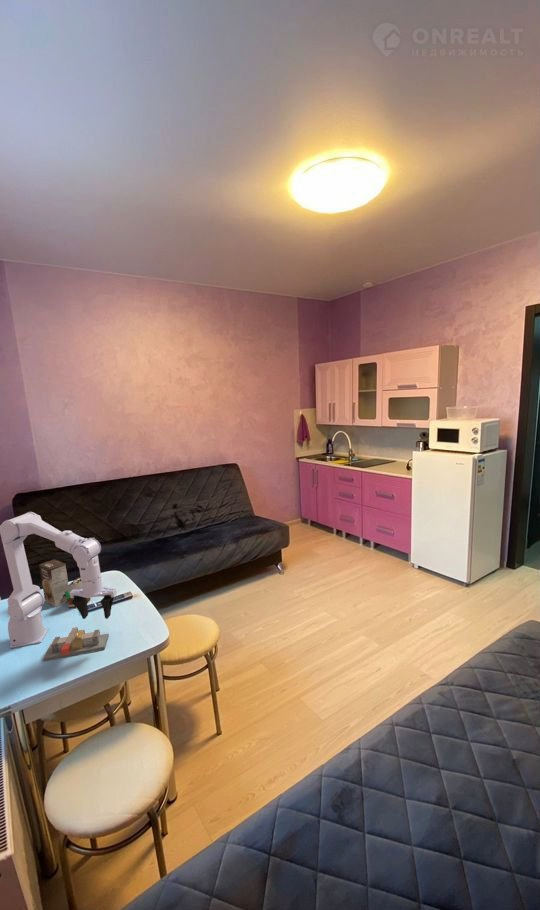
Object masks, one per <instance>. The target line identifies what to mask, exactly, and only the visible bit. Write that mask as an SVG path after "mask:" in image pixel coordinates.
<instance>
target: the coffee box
mask: <svg viewBox="0 0 540 910" xmlns="http://www.w3.org/2000/svg"><path fill="white" fill-rule="evenodd" d="M38 567H39V573H40V580H41V585H42V591H43V592H42V593H43V595H44V599H45V602H44V603H46V604H47V603H48V604H49V605H51V606H53V607H54V608H57V607H59V606H61V605H64V604H65V603H68V602H67V598H66V594H65V591H63V588H64V586H68V585H69V580H68V573H67V566H66V563H65V562H62V561H60V560H57V559H55V558H54V559H52V560H48V561H46V562H45V561H44V562H42V563H40V564H38Z"/></svg>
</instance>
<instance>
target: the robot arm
mask: <svg viewBox="0 0 540 910" xmlns="http://www.w3.org/2000/svg"><path fill="white" fill-rule="evenodd" d="M29 535H36V536H38V537H39V536H40V537H41V538H45V539H48V540H50V541H52V542H54V545H55V547H56V548H58V549H60V550H62V551H64V552H66V553H68V554H70V555H72V557H73V559H74V561H75V562H76V565H77V567H78V569H79V575H80V576H79V577H81V583H82V589H73V590H72V591H71V592H70V598H74V600H73V601H72V604H73V605H74V606H75V607H76V608H75V609H77V610H78V613H79V614H80V616H81V618H82V619H83V620H85V619H86V618H87V617H88V616H89V609H88V603H87V598H90V599H91V598H96V597H97V598H98V597H103V598H102V599H101V600H99V601H100V604H101V607H102V609H103V616H104V619H105V620H107V619H109V617H110V616H111V615H112V614H111V612H112V607H113V602H114V599H115V597H116V596H117V592H118V591H117V589H116V588H111V587H106V586H103V582H102V574H101V567H100V561H99V554H100V553H101V551H102V546H101V543H100V542H99V541H98V540H97V539H96V538H95V537H89V538H87V537H86V538H85V537H82V536H80V535H78V534H76V533H74V532H73V531H72V530H63V531H61V530H59V529H58V528H56V527H54V526H52V525H51V524H49V523H48V522H46V521H44V520H43V519H42V517H41V515H39V514H37V513H35V512H33V511H28V512H25V513H24V514H21V515H19V516H16V517H13V518H10V519H6V520H5V521H3V522H2V523H1V524H0V537H1V543H2V545H3V551H4V555H5V559H6V562H7V567H8V571H9V575H10V580H11V585H12V588H13V589H12V590H13V591H12V592H11V594H10V595H9V597H8V599H7V605H8V606H7V614H8V617H10V618H9V620H8V622H7V631H8V637H9V642H10V645H9V648H13V649H14V648H17V647H24V646H28V645H29V646H30V645H33V644H39V643H42V641H43V639H44V638H45V636H46V634H47V633H48V631H49V628H48V627H45V628H44V623H43V618H42V609H43V605H44V604H45V603H46V602H45V598H44V593H43V592H42V590H41V588H40V587H41V586H38V585H36V584H33V580H32V576H31V572H30V568H29V563H28V559H27V555H26V551H25V550H26V549H25V546H24V541H25V539H26V538H27V537H28V536H29Z"/></svg>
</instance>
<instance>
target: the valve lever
mask: <svg viewBox="0 0 540 910" xmlns="http://www.w3.org/2000/svg"><path fill="white" fill-rule="evenodd" d="M78 631H79V628H78V626H77V627H76V626H75V627H72V628H71V630H70V631H69V633H70V635H69V634H68V635H69V637H68V636H67V637H68V639H67V641H66V643H65V644H64V645H63V647H62V649H61V653H62V655H67V654H70V651H71V649H72V644H73V642H74V639H75V637H76V635H77V634H78Z"/></svg>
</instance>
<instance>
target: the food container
mask: <svg viewBox="0 0 540 910" xmlns="http://www.w3.org/2000/svg"><path fill="white" fill-rule="evenodd" d="M73 589H82V583H81V576H79V577H77V578H76V579H74V580H72V581H71V582H70V583H68V586H64V588H63V591H65V594H66V598H67V602H66V603H67V606H68V609H77V608H76V607H75V606H74V605H73V604H72V601H73V600H74V598H70V592H71V591H72V590H73ZM90 601H91V598H87V604H89V602H90Z"/></svg>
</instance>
